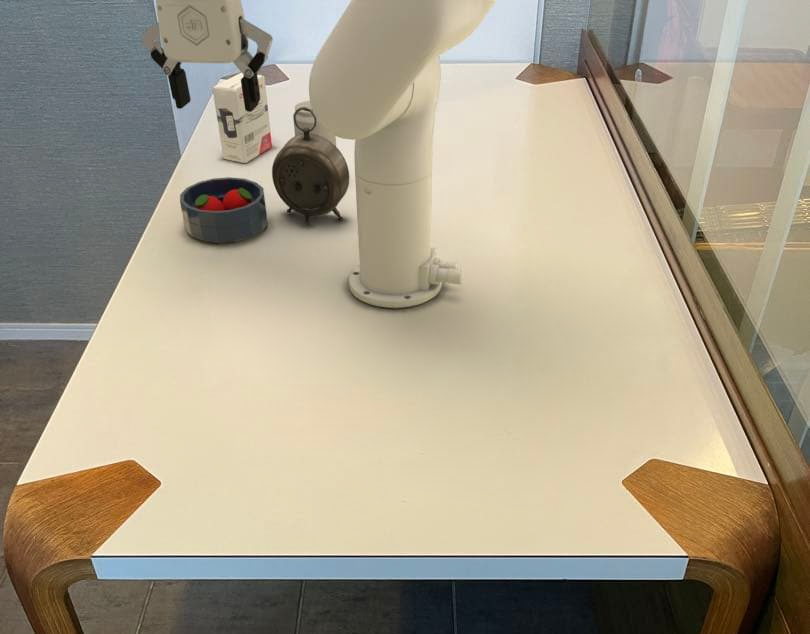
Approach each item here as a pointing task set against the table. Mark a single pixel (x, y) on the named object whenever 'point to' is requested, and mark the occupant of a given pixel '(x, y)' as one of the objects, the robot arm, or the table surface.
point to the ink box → (241, 121)
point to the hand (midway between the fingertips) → (217, 106)
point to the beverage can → (310, 123)
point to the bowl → (223, 222)
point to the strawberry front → (236, 199)
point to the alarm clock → (310, 174)
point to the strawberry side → (209, 203)
